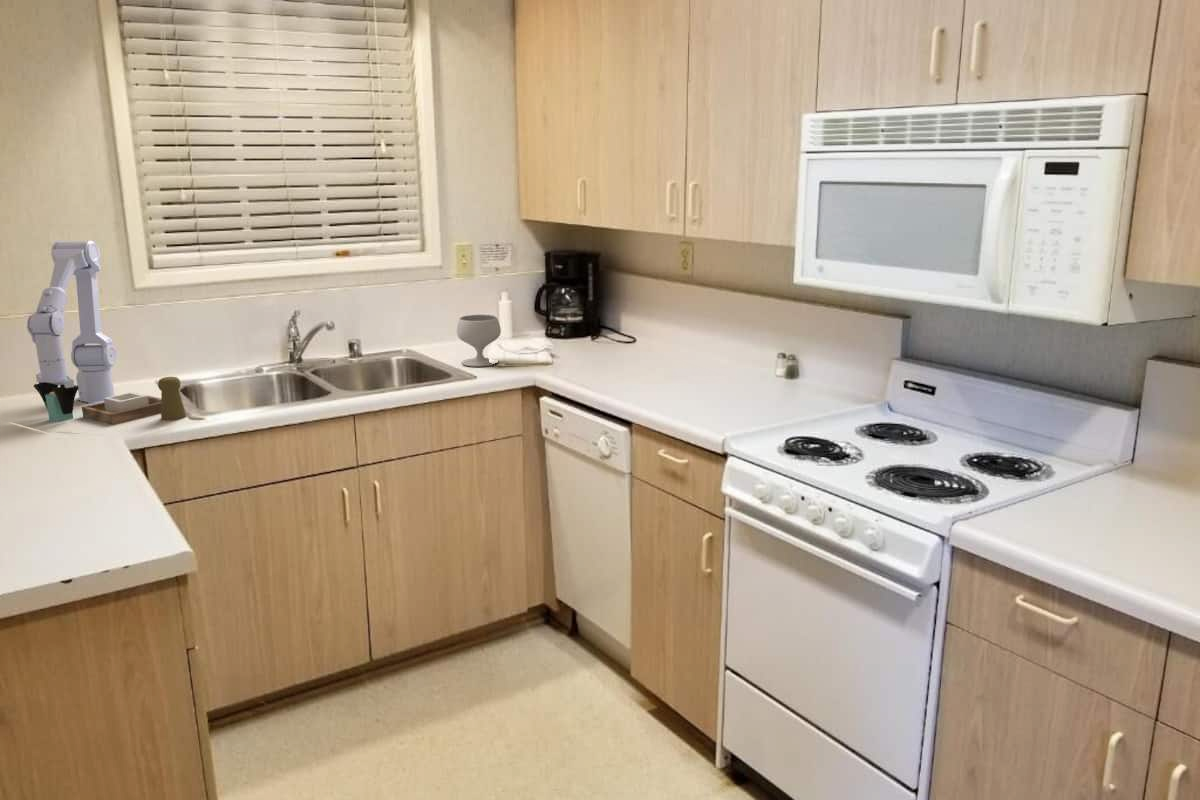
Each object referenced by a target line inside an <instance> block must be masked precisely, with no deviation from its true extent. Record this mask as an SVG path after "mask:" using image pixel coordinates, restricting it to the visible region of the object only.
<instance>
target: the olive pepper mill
mask: <svg viewBox="0 0 1200 800" xmlns="http://www.w3.org/2000/svg"><path fill="white" fill-rule="evenodd" d="M157 386H158V389H159V391H161V392H160V393H161V397H160V398H161V413H160V418H161V420H162V421H166V422H171V421H178V420H183V419H185V418H186V417H187V414H186V409H185V405H184V403H183V400H182V399H183V398H182V396H181V391H180V388H181V380H180V378H178V377H176V376H165V377H162V378H160V379H159V380H158V382H157Z"/></svg>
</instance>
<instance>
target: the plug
mask: <svg viewBox="0 0 1200 800" xmlns="http://www.w3.org/2000/svg"><path fill="white" fill-rule="evenodd" d="M45 397H46V403H47V408H46V410H47V409H48V410H47V414H48V419H49V421H52V422H56V423H59V422H64V421H68V420H73V419H74V415H73V413H69V414H63V412H62V410H61V407H60V403H59V400H58V398H57V396H56V395H55V393H54V392H50V394H48V395H45Z"/></svg>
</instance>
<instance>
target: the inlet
mask: <svg viewBox="0 0 1200 800" xmlns="http://www.w3.org/2000/svg"><path fill="white" fill-rule="evenodd" d="M115 395H116V396H111V397H107V398H104V404H105V410H106V412H110V413H117V412H121V411H125V410H129V409H133V408H138V407H142V406H146V405H149V403H148V396H149V395H147V394H143V395H142V394H141V393H138V392H132V391H130V392H125V393H121V394H115Z"/></svg>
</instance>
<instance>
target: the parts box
mask: <svg viewBox="0 0 1200 800" xmlns="http://www.w3.org/2000/svg"><path fill="white" fill-rule="evenodd" d="M142 395H144V394H142ZM147 396H148V403H149V405H146V406H142V407H138V408H133V409H129V410H125V411H121V412H117V413H110V412H106V410H105V404H104V402H100V403H95V404H89V405H86V406H82V407H81V411H82V412H81V413H82V418H84V419H85V418H86V419H89V420H93V421H96V422H97V421H98V422H101V423H104V424H108V425H112V426H115V425H118V424H122V423H127V422H130V421H134V420H138V419H143V418H147V417H150V416H155V415H159V414H161V397H156V396H151V395H147Z"/></svg>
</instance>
